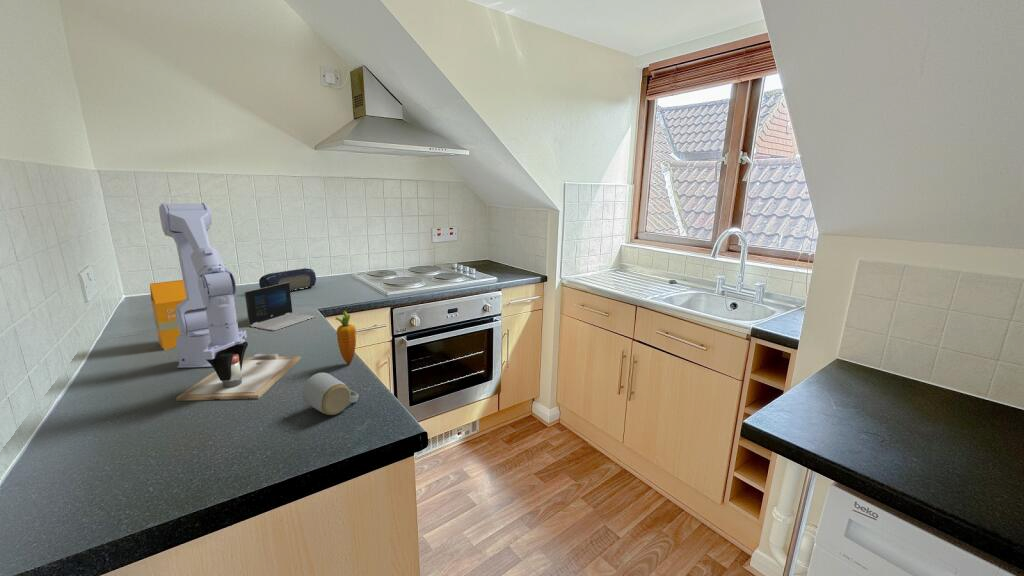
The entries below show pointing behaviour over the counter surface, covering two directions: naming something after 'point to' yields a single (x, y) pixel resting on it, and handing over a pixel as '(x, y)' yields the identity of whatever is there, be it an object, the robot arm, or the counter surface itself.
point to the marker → (234, 373)
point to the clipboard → (244, 379)
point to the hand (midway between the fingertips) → (231, 376)
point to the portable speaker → (290, 278)
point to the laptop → (271, 307)
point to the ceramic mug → (327, 394)
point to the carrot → (346, 338)
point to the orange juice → (167, 310)
